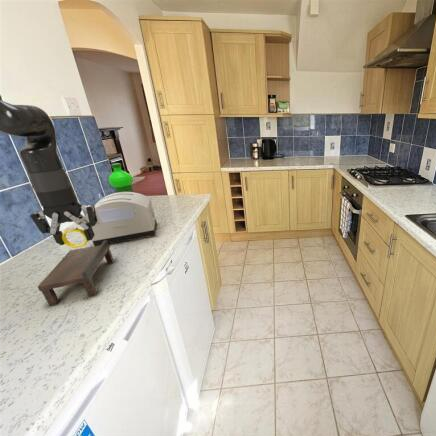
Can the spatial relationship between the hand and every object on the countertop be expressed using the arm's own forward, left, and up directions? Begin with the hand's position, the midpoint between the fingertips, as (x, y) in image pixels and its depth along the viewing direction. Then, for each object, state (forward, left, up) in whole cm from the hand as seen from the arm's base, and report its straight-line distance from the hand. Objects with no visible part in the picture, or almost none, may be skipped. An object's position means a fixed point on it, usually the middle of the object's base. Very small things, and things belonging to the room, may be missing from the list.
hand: (77, 241), depth 72 cm
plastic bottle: (-2, +68, -14) cm, 69 cm away
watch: (0, 0, -2) cm, 2 cm away
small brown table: (-2, 0, -14) cm, 14 cm away
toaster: (+4, +36, -14) cm, 39 cm away
